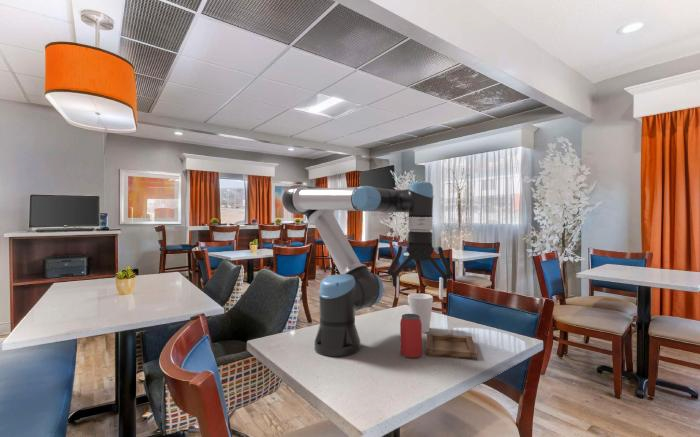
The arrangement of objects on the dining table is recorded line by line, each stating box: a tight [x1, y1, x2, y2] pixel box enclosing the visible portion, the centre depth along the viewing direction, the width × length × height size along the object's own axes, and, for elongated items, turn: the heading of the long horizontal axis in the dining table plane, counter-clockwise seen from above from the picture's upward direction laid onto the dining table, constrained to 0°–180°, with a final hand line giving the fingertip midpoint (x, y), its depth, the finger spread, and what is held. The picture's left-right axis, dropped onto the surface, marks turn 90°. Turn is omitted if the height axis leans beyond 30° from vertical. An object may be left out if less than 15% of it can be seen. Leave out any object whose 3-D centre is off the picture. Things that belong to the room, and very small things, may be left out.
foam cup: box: [407, 293, 434, 334], centre depth 126 cm, size 10×9×13 cm
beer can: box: [399, 313, 423, 359], centre depth 102 cm, size 7×7×12 cm
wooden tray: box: [425, 332, 478, 361], centre depth 107 cm, size 15×17×2 cm
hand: (419, 297), depth 104 cm, fingers open, 13 cm apart
